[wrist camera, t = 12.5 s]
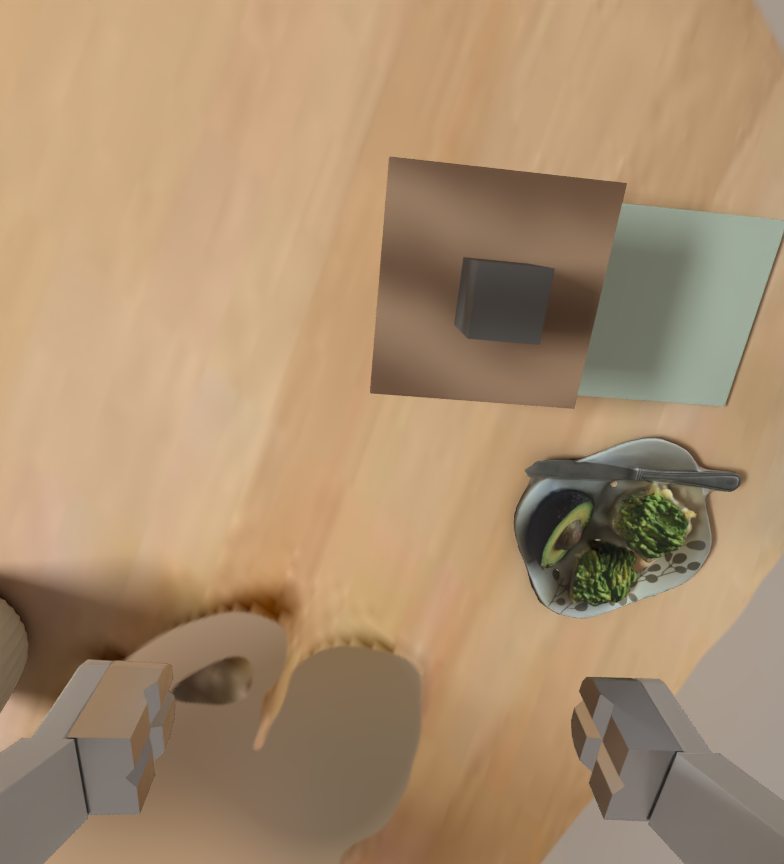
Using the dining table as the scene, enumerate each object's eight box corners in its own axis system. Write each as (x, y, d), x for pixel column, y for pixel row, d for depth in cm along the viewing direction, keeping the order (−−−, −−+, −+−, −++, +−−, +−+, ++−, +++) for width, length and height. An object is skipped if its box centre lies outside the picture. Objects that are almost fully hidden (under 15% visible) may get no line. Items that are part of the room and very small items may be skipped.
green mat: (595, 201, 36) (598, 200, 35) (781, 220, 37) (787, 220, 36) (554, 391, 41) (557, 393, 40) (719, 404, 42) (724, 406, 41)
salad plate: (715, 387, 42) (755, 404, 38) (739, 556, 48) (775, 588, 44) (490, 466, 44) (504, 492, 39) (542, 620, 50) (558, 657, 46)
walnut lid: (388, 158, 26) (393, 143, 21) (619, 184, 26) (670, 174, 22) (370, 389, 30) (370, 416, 25) (569, 404, 31) (603, 433, 26)
